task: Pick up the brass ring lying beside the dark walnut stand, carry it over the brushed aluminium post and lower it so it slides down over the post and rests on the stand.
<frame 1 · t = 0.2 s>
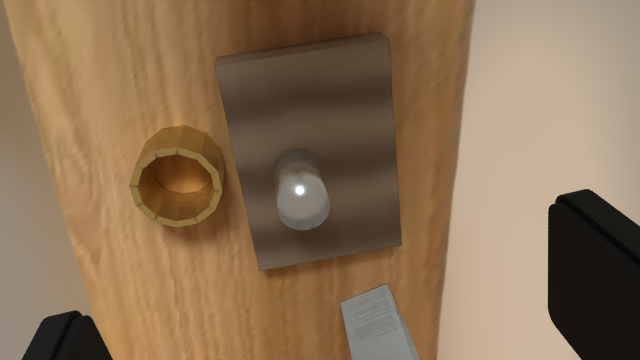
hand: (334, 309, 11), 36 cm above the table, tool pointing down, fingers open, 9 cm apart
piston post: (295, 169, 46), resting on walnut stand
brass ring: (182, 163, 47), on the table
skincare box: (373, 315, 58), on the table
walnut stand: (314, 152, 48), on the table
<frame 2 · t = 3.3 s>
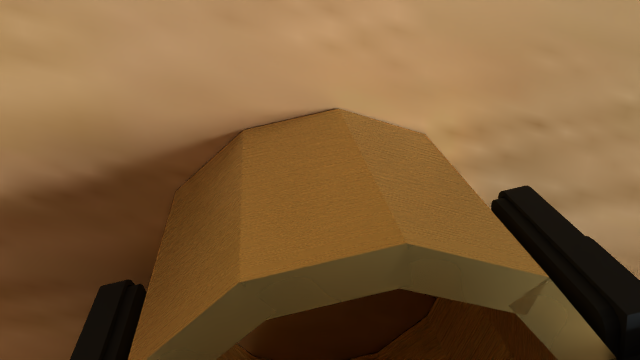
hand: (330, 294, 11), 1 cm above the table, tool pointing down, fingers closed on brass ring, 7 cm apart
brass ring: (324, 265, 12), on the table, touching gripper
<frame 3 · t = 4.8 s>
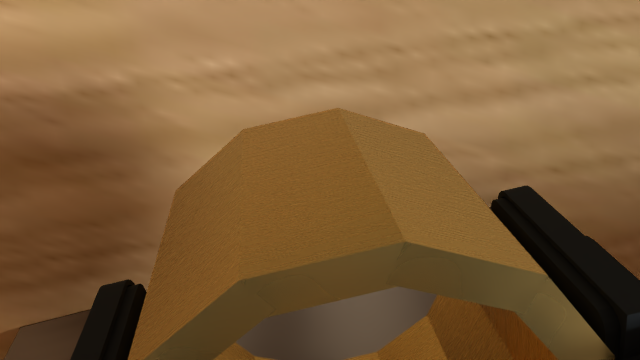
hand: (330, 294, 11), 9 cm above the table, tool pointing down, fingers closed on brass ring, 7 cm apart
brass ring: (324, 264, 12), point 8 cm above the table, touching gripper
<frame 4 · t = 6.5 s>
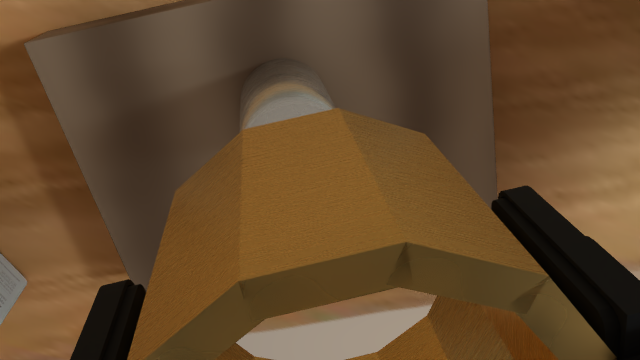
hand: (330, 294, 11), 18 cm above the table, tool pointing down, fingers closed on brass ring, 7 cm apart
piston post: (283, 101, 24), resting on walnut stand
brass ring: (324, 264, 12), point 17 cm above the table, touching gripper
walnut stand: (288, 120, 28), on the table
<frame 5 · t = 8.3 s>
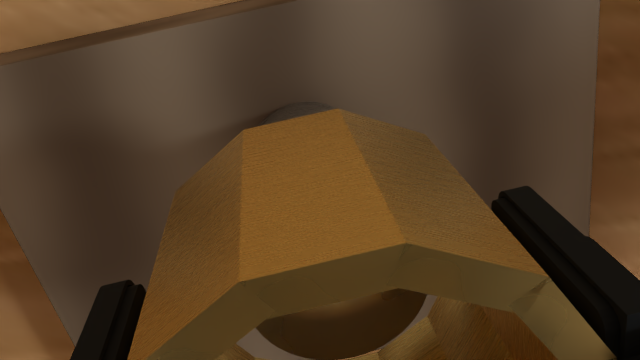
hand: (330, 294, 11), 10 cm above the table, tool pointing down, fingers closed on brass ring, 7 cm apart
piston post: (306, 159, 17), resting on walnut stand
brass ring: (324, 264, 12), point 9 cm above the table, touching gripper
walnut stand: (309, 174, 21), on the table
when the fingers open (6 cm above the table, at t = 9.9 s): brass ring drops 2 cm, resting on walnut stand.
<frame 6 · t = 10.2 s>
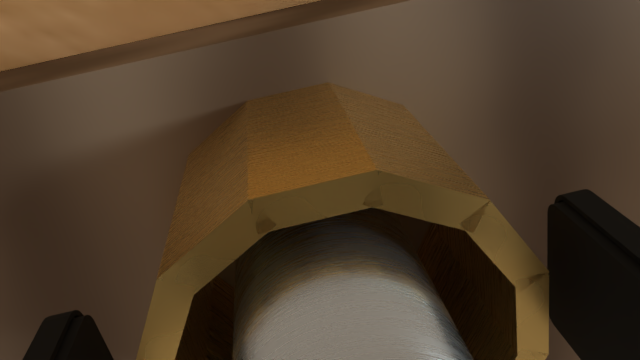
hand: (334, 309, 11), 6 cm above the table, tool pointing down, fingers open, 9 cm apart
piston post: (313, 222, 14), resting on walnut stand
brass ring: (317, 221, 14), point 3 cm above the table, touching walnut stand
walnut stand: (315, 228, 17), on the table
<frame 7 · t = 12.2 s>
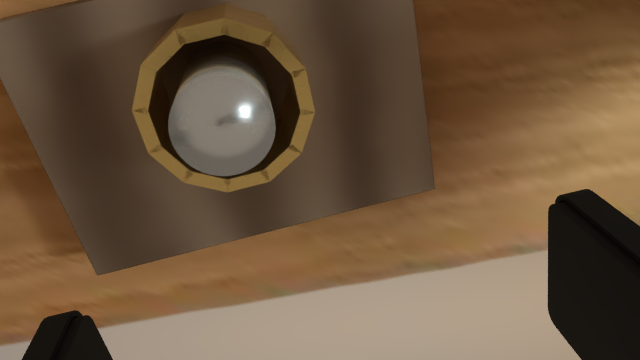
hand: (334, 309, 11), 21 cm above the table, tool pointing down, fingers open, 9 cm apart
piston post: (225, 81, 26), resting on walnut stand
brass ring: (227, 81, 26), point 3 cm above the table, touching walnut stand
walnut stand: (235, 102, 30), on the table
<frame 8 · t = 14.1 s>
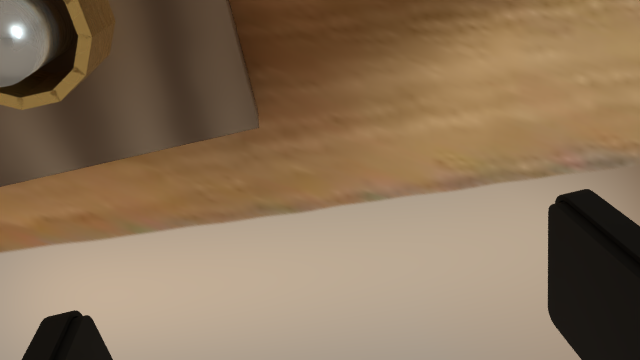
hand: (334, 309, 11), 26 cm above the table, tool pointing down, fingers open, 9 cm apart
piston post: (43, 18, 29), resting on walnut stand
brass ring: (45, 17, 29), point 3 cm above the table, touching walnut stand
walnut stand: (73, 43, 32), on the table
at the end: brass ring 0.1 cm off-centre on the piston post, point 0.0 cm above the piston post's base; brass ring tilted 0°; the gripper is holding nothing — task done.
